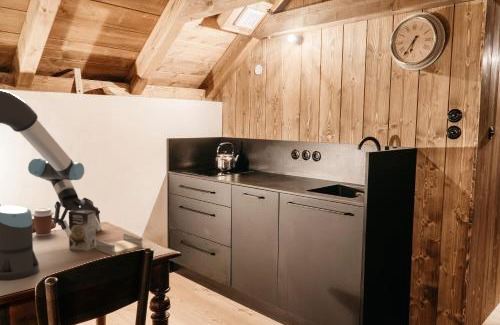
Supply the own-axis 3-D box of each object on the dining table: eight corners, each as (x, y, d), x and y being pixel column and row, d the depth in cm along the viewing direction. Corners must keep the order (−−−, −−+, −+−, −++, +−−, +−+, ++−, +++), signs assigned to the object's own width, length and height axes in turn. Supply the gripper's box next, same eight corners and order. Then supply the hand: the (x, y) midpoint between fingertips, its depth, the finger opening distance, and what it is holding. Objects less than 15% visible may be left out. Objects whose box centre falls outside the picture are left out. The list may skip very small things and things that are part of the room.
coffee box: (68, 249, 180) (67, 211, 178) (77, 244, 186) (77, 208, 185) (87, 251, 178) (87, 213, 176) (96, 246, 184) (95, 210, 183)
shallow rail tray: (112, 255, 173) (112, 245, 173) (95, 249, 180) (95, 239, 180) (142, 247, 185) (142, 238, 184) (125, 242, 192) (125, 233, 192)
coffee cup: (31, 233, 203) (31, 208, 202) (52, 230, 208) (51, 206, 207) (34, 237, 196) (33, 212, 194) (55, 235, 201) (54, 210, 199)
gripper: (88, 194, 200) (107, 231, 192) (34, 201, 180) (53, 243, 173) (94, 184, 196) (114, 221, 188) (40, 190, 177) (59, 232, 169)
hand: (85, 231), depth 180 cm, fingers open, 13 cm apart
